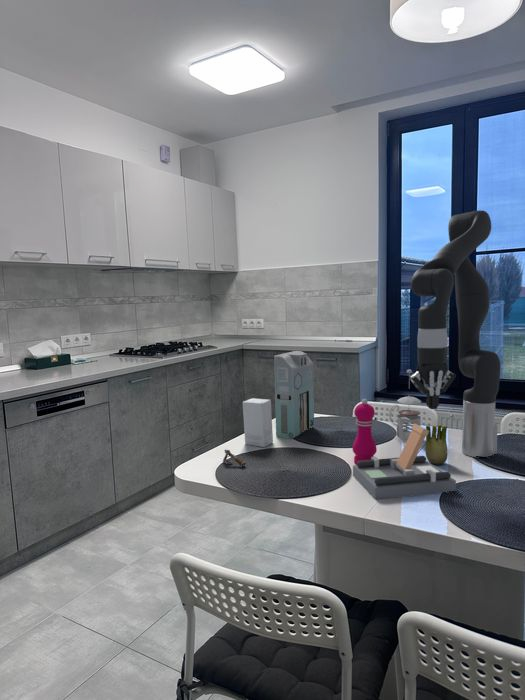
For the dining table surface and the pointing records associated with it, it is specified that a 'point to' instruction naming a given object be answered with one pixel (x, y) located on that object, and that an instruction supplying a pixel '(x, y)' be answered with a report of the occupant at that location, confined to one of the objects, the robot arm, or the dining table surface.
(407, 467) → the lever
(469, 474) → the dining table surface
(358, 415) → the pepper mill
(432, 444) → the fennel bulb
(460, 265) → the robot arm
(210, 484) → the dining table surface
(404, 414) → the french press
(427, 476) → the pair of dark bars
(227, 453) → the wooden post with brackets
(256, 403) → the skincare box
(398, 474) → the panel
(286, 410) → the device
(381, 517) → the dining table surface
